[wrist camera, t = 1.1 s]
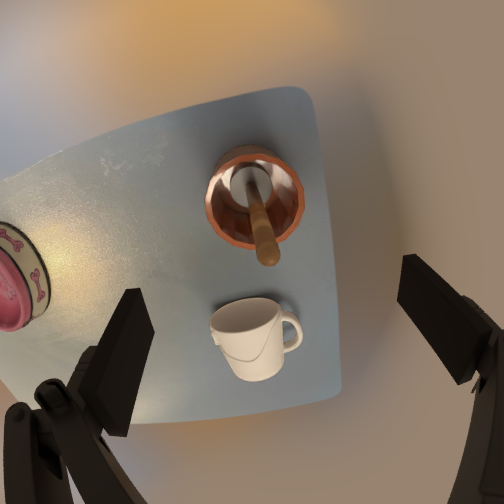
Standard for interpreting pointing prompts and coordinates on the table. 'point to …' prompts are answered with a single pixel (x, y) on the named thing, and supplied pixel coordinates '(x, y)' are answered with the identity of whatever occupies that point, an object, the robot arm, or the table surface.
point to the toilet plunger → (256, 208)
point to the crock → (237, 217)
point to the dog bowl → (20, 280)
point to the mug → (253, 336)
